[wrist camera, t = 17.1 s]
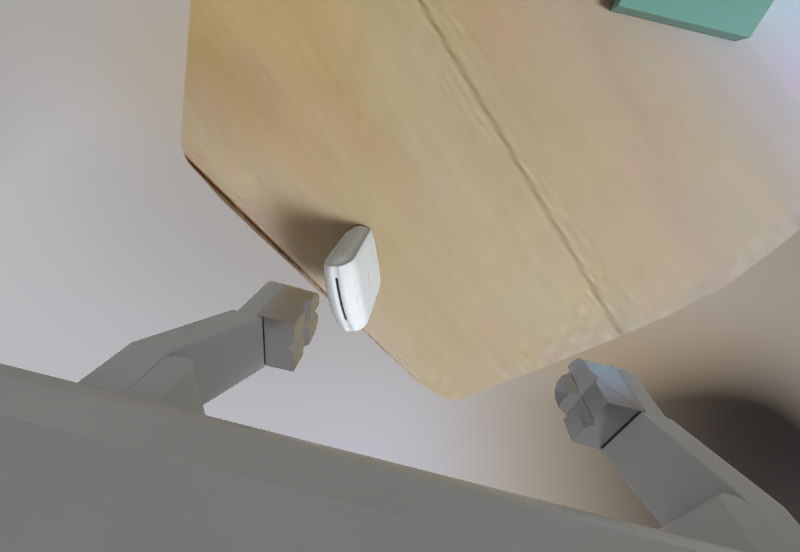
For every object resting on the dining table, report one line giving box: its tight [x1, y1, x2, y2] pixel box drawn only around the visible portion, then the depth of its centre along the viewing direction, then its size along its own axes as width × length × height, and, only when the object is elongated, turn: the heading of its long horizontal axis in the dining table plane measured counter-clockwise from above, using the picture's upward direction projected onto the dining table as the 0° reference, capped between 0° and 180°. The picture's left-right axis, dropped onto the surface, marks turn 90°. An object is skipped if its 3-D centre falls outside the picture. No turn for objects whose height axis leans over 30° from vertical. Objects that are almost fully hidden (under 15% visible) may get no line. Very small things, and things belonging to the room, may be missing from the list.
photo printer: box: [324, 226, 380, 331], centre depth 38 cm, size 10×4×12 cm, turn 6°
